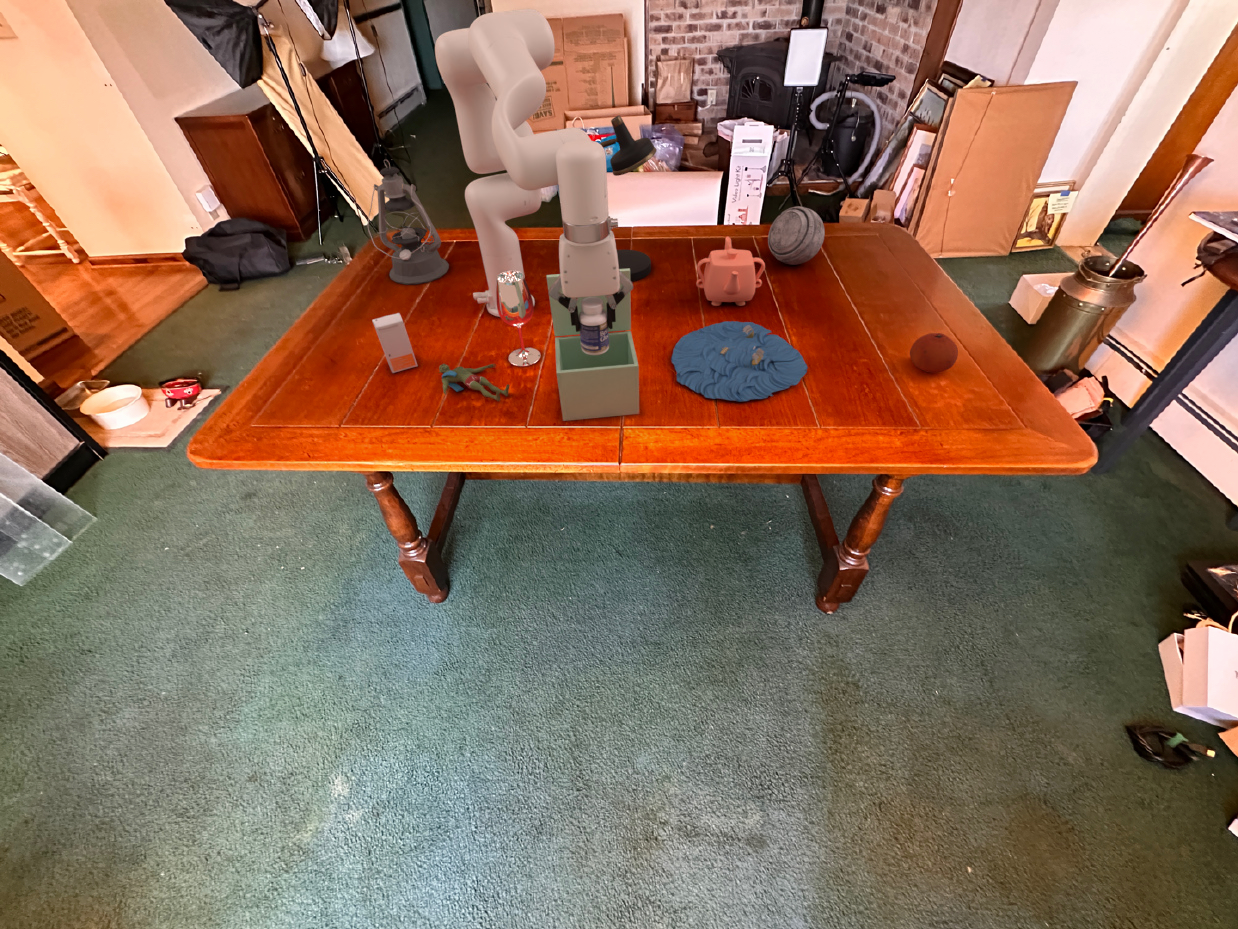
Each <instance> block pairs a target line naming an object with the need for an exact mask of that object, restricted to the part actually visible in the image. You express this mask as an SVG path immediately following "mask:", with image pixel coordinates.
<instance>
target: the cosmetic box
mask: <svg viewBox="0 0 1238 929" xmlns="http://www.w3.org/2000/svg"><path fill="white" fill-rule="evenodd" d="M371 321H372V324H373V327H374V330H375V332H376V335H377V338H378V340H379V342H380V346H381V348H382V350H383V353H384V356H385V359H386V361H387V363H388V366H389V369H390V371H391V373H392V374H395V373H398V372H399V373H400V372H402V371H406V370H409V369H412V368H413V369H414V368H417V367H419V365H418V362H417V360H416V356H415V353H414V350H413V347H412V343H411V341H410V338H409V335H408V332H407V329H406V325H405V322H404V320H403V318H402V315H401V313H400V312H397V313H392V314H388V315H384V316H381V317H377V318H374V319H372V320H371Z"/></svg>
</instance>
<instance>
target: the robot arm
mask: <svg viewBox="0 0 1238 929" xmlns="http://www.w3.org/2000/svg"><path fill="white" fill-rule="evenodd" d="M555 51H556V45H555V37H554V33H553V30H552V27H551V25H550V23H549V21H548V20H547V17H545V16H544V15H543V14H542V13H541V12H540V11H538V10H536V9H534V8H523V9H513V10H502V11H493V12H487V13H485V14H482V15H480V16H478V17H477V18H476V19H474V20H473V22H472V23H471V24H470V26H469V27H465V28H458V29H452V30H450V31H446V32H443V33H442V34H440V35H438V38H437V39H436V40H435V44H434V55H435V62H436V65H437V69H438V71H439V74H440V76H441V79H442V81H443V83H444V84H445V86H446V88H447V90H448V93H449V94H450V97H451V99H452V102H453V106H454V109H455V110H454V111H455V115H456V122H457V126H458V131H459V136H460V142H461V146H462V147H461V148H462V152H463V157H464V160H465V163H466V165H467V167H468V168H469V170H470V171H471V172H473V173H476V174H479V175H483V174H484V175H485V174H493V173H497V172H502V171H506V172H505V173H498V174H493V175H489V176H484V177H480V178H477V179H474V180H472V181H471V182H469V183H468V184H467V186H466V187H465V190H464V199H465V204H466V207H467V210H468V213H469V215H470V217H471V220H472V223H473V227H474V228H475V232H476V236H477V241H478V245H479V249H480V254H481V259H482V263H483V264H482V265H483V268H484V272H485V276H486V282H487V286H488V290H485V291H483V292H480V291H477V292H473V293H472V297H473V300H474V301H477V304H486V310H487V312H488V313H489V314H491V315H493V316H494V317H498V318H501V317H500V316H499V313H498V310H497V300H496V286H497V276H498V275H499V274H500V273H502V272H505V271H519V272H521V273H522V274H523V276H524V278H525V279H526V277H525V271H524V265H523V259H522V253H521V252H522V251H521V247H520V240H519V237H518V235H517V233H516V232H515V230H514V229H512V228H511V227H510V226H508V225H507V224H506V221H509V220H512V219H515V218H519V217H524V216H528V215H532V214H535V213H536V212H538V211H539V210H540V208H541V205H542V189H545V188H549V187H553V186H558V192H559V203H560V209H561V210H560V211H561V222H562V231H563V233H561V234H560V236H559V242H558V260H559V261H558V262H559V274H560V275H559V277H558V278H557V279H556V281H555V282H554V283H553V285H552V286H551V287H550V289H549V291H548V297H549V296H550V297H552V298H553V299H555V300H556V301H558V302H559V303H560V304H561V305H563V306H564V307H565V308H567V309H568V311H569V312H570V315H571V325H572V326H574V325H575V326H576V332H579V331H580V328H579V318H578V308H577V306H576V304H577V300H578V297H590V296H602V295H605V296H606V298H607V300H608V301H607V303H606V306H607V316H608V327H609V328H610V329H613V326H612V322H616V316H615V308H616V307H617V305H618V304H619V303H620V301H621V300H622V299H623V298H624V297H625V295H627V294H628V293H629V292H630V293H631V291H632V290H634V284H633V282H631V281H630V280H629V279H628V278H627V277H626V276H625V275H624V274H623V273H622V272H621V271H620V270H619V265H618V256H617V250H618V249H617V243H616V238H615V234H614V231H612V229H614V228H619V220H618V218H613V217H611V216H610V215H609V196H608V194H609V193H608V174H607V156H606V151H605V147H604V148H603V147H602V145H600V142H597V141H594V140H592V139H591V138H590V136H589V134H587V133H586V132H585V130H583V129H582V128H579V127H567V128H563V129H558V130H557V129H556V130H550V131H544V132H538V133H535V134H534V131H533V129H532V127H531V125H530V124H529V122H528V121H527V120H529V119H530V118H531V117H532V116H533V115H535V114H536V113H537V112H538V110H540V109H541V107H542V105H543V103H544V101H545V99H546V95H547V83H546V80H545V77H544V74H543V73H542V71H544V70H545V69H547V68H549V67H550V65H551V64H552V62H553V60H554V58H555ZM620 283H621V284H622V285H623V286H622V287H621V289H619V287H620ZM561 287H562V291H563V294H561V293H560V292H559V290H560V289H561ZM531 297H532V300H533V306H534V307H535V305H536V304H535V303H536V301H535V298H534V296H533V295H532V294H531ZM568 297H569V298H568Z"/></svg>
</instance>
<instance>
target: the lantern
mask: <svg viewBox="0 0 1238 929" xmlns="http://www.w3.org/2000/svg"><path fill="white" fill-rule="evenodd" d="M385 161H386V162H387V163H388V165H389V166H388V165H387V164H386V162H385ZM385 161H383V163H384V166H385V167H384V168H382V169H381V170H380V172H379V175H381V176H384V177H383V178H382V179H381V184H379V185H377V184H376V183H374V184H373V190H372V195H371V203H370V208H369V213H368V217H367V231H368V234H369V237H370V239H371V241H372V243H373V244H372V245H373V246H374V247H375V248H376V250H378V251H380V252H382V253H383V254H385V255H387V256H388V257H391V264H392V268H391V269H390V271H389V273H388V276H389V278H390V280H391V281H394V282H395V283H397V284H399V285H405V286H407V285H410V286H411V285H422V284H427V283H431V282H433V281H435V280H438V279H440V278H441V277H443V276H444V275H446V274H447V273H448V270H449V268H450V264H449V263H448V261H447V260H446V259H445V258H442V257H441V255H440V253H439V251H438V249H439V248H440V247H441V246H442V245H441V244H442V240H441V237H440V235H439V233H438V231H437V230H436V229H437V228H436V227H435V225H434V224H433V222H432V220H431V218H430V217H429V214H428V213H427V211H426V209H425V208H424V205H423V204H422V203H421V201H420V199H419V197H418V195H417V193H416V190H417V187H416V185H414V184H411V185H409V184H407V183H404V178H403V177H402V176H401V175H398V173H400V169H399V168H397V167H396V166H391V164H390V161H388V159H385ZM375 191H377V203H378V204H377V209H378V210H377V211H378V230H379V232H377V234H378V235H379V238H380V241H381V242H382V244H383V245H384V246H385V247H387V248H388V249H390V250H392V251H394V252H393V253H392V255H390V254H388V253H387V252H386V251H384V250H382V249H380V248H378V246H377V245H376V244H375V242H374V239H373V236H372V234H371V231H370V229H369V228H370V227H369V223H370V215H371V211H372V207H373V200H374V196H375V195H374V194H375ZM407 195H409V197H407ZM386 198H387V199H388V200H387V201H386ZM414 207H415V208H416V210H417V212H416V214H419V216H420V217H421V219H422V220H423V222H424V224H425V226H426V228H425V226H424V225H423V223H422V222H420V225H421V226H422V227H412V226H411V225H413V223H414V221H415V220H417V221H420V219H419V218H418V217H415V216H413V215H412V214H414V212H411V213H410V214H409V213H408V212H404V211H408V210H411V209H412V208H414ZM387 212H389V213H388V215H389V214H394V213H396V212H399V213H402V214H406V215H407V216H405V219H404V221H403V223H402V229H401V228H397V227H395V226H391V225H390V224H389V222H388V221H387ZM409 216H410V217H412V218H414V219H413V221H411V223H410V224H409V225H405V226H404V224H405V222H406V219H407V218H408V217H409ZM387 225H388V226H389V227H391V228H393V229H396V230H400V231H397V232H394V234H393V235H392V236H391V239H390V240H391V241H389V239H388V238H387V232H388V230H389V228H388V227H387ZM428 231H429V233H428ZM427 233H428V236H427V238H425V237H426V235H427ZM431 236H432V237H431ZM429 239H431V240H430V241H428V240H429ZM422 240H424V241H423V242H422ZM399 245H400V246H401V247H399Z"/></svg>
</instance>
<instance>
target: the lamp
mask: <svg viewBox="0 0 1238 929" xmlns="http://www.w3.org/2000/svg"><path fill="white" fill-rule="evenodd" d="M610 123H611V125H612V129H613V132H614V134H615V138H614V137H613V138H610V139H607V140H605V141H602V142H599V144H600V145H602V147H603V148H604V149H605V148H607V147H610V146H613V145H616V144H618V148H619V150H617V151H616V152H615V153H614V154H613V155H612V156H611V157H610V161H609V163H610V166H611V171H612V175H613V176H615V177H619V176H623V175H625V174H628V173H630V172H633V171H635V170H637V169H638V168H640V167H641V166H643V165H644V164H646V163H647V162H648V161H650V160H651V159H652V158H654V157H655V154H656V153H657V148H656V147H655V145H654V144H653V142H652V140H651V139H650V138H649V137H642V138H638V139H636V140H635V139H634V137H633V136H632V134H631V133H630V130H629V129H628V127H627V125H626V123H625V121H624V119H623V118H622V116H621V115H620V114H619V115H616V116H615V117H613V118H612V119H611V120H610ZM617 256H618V265H619V269H628V268H630V281H631V282H632V283H633V282H637V281H639V280H643V279H645V278H646V277H647V276H648V275H650V274H651V271H652V261H651V257H650V256H649V255H647V253H644V252H642V251H640V250H635V249H617Z"/></svg>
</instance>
